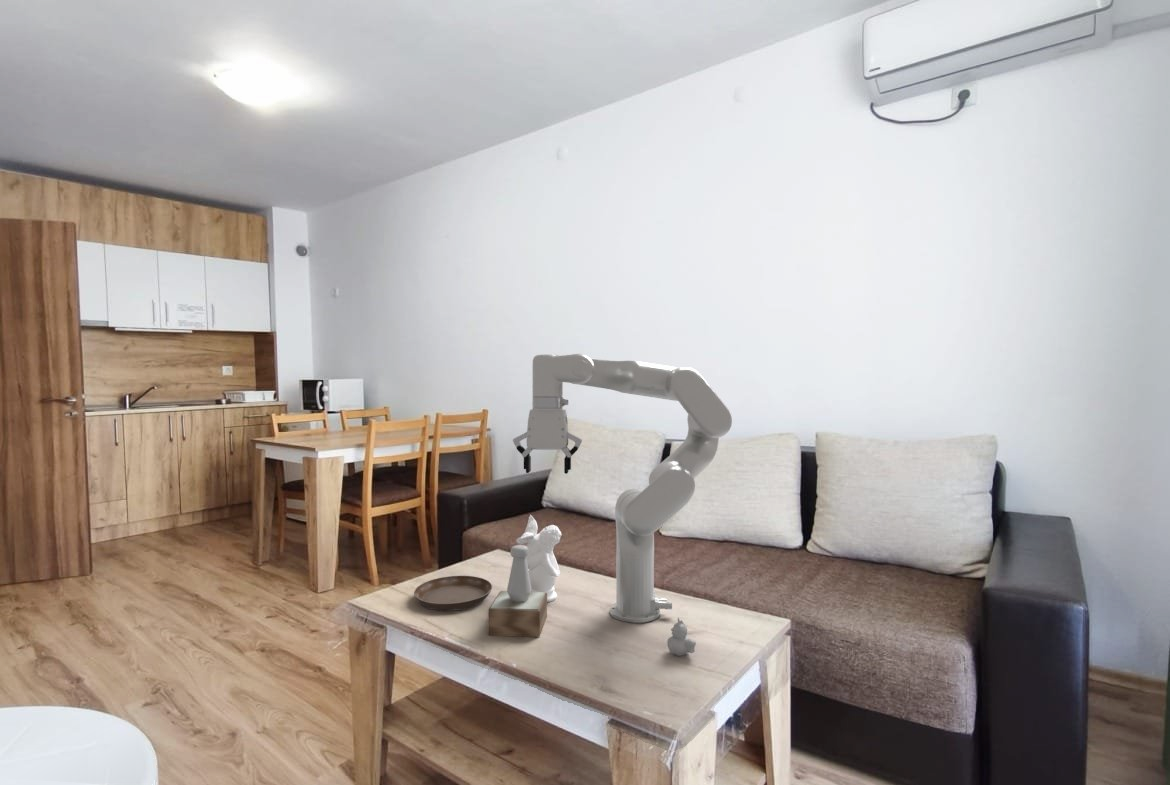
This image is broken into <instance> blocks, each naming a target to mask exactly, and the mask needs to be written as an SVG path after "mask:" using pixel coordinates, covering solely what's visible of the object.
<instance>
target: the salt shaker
mask: <svg viewBox="0 0 1170 785" xmlns="http://www.w3.org/2000/svg"><path fill="white" fill-rule="evenodd" d="M509 555H510V557H512V562H511V568H510V573H509V578H508V583H507V589H506V591H507V592H508V594H509V597H510V599H511V601H512V602H516V603H521V602H525V601H527V600H528V598H529V596H530V593H531V584H530V578H529V572H528V571H529V569H528V566H527V560H526V556H528V548H527V547H526V545H524V544H522V545H521V544H520V545H519V544H517V545H513V546H512V547H511V548H510V554H509Z"/></svg>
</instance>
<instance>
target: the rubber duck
mask: <svg viewBox="0 0 1170 785" xmlns="http://www.w3.org/2000/svg"><path fill="white" fill-rule="evenodd" d="M670 631H671V636H669V637H668V639H667V648H668V651H669V652H670V653H671V654H672V655H674V656H679V657H681V656H682V657H683V656H684V655H687V654H688V653H689V654H693V653H695V651H696V650H695V647H696V644H697V641H696V640H694V639H692V638H691V637H690V636H688V628H687V626H686V625H685V623H684V621H683V620H680V618H679V617H677V622H676V623H674V625H673V627H671V628H670Z"/></svg>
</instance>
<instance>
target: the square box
mask: <svg viewBox="0 0 1170 785" xmlns="http://www.w3.org/2000/svg"><path fill="white" fill-rule="evenodd" d="M487 611H488V618H487V622H488V625H487V626H488V630H487V631H488V632H487V635H488V636H494V637H495V636H497V637H500V636H501V637H521V636H522V637H523V636H525V637H527V638H540V637H541V634H542V632H543V629H544V626H545V623H546V621H547V619H548V618H547V617H548V602H547V593H545V592H531V593H530V596H529V598H528V600H527V601H525V602H521V603H516V602H512V601H511V599H510V597H509V594H508V592H507V590H500V591H499V592H498V594H497V595H496V597H495V598H494V600H493V601H492V603H491V604H490V606H489V608H488V610H487ZM525 637H524V638H525Z"/></svg>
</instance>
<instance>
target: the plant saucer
mask: <svg viewBox="0 0 1170 785" xmlns="http://www.w3.org/2000/svg"><path fill="white" fill-rule="evenodd" d="M492 590H493V584H492V583H491V582H490V581H489V580H487V579H485V578H482V577H478V576H474V575H451V576H443V577H437V578H433V579H431V580H428V581H425V582H423V583H421V584H419V585H418V586H417V587H416V588H415V589H414V592H413V594H414V595H413V596H414V598H416V600H417V601H418V602H419V603H420V604H421V605H423V606H424V607H425V608H427V609H430V610H433V609H434V610H435V611H440V610H442V611H444V612H449V611H450V612H452V611H453V610H454V611H461V610H466V609H470V608H473V607H475V606H477V605H479V604H481V603H482V602H483V601H485V599H486V598H487V597H488V596H489V595H490V593H492Z"/></svg>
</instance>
